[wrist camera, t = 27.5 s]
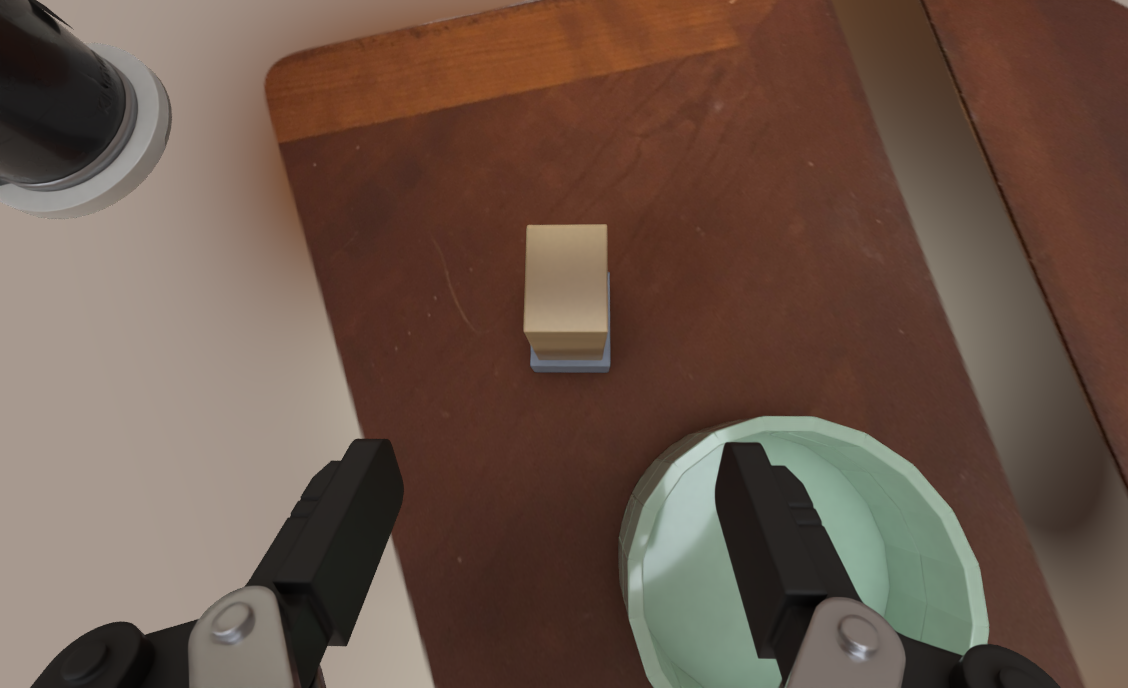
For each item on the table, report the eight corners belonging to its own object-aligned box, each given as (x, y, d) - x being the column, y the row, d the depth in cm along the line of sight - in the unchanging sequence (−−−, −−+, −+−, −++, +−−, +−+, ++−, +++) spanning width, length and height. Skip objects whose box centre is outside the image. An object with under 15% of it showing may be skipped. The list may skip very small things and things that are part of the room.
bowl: (672, 751, 22) (701, 853, 16) (583, 467, 24) (583, 473, 19) (942, 660, 22) (1057, 729, 17) (823, 389, 25) (889, 374, 19)
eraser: (608, 372, 25) (619, 339, 18) (534, 372, 26) (512, 339, 18) (607, 284, 26) (617, 216, 19) (536, 284, 27) (516, 217, 19)
